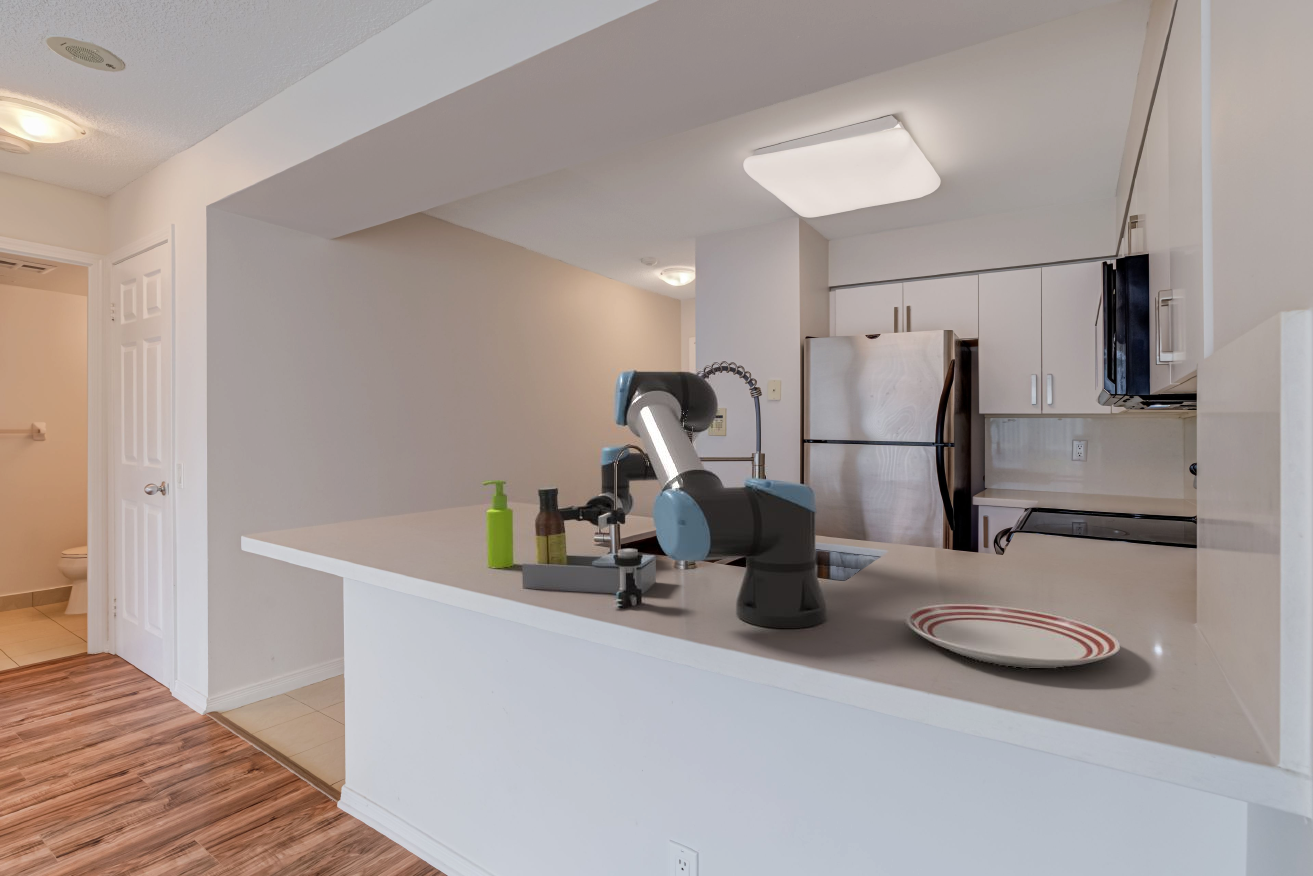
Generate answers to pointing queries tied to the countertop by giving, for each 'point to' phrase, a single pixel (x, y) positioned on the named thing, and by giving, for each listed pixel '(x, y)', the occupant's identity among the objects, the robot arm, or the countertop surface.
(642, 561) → the lid
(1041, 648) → the dinner plate
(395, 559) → the countertop surface
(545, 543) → the sauce bottle
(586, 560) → the grey shallow tray
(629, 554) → the push button
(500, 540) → the soap dispenser
